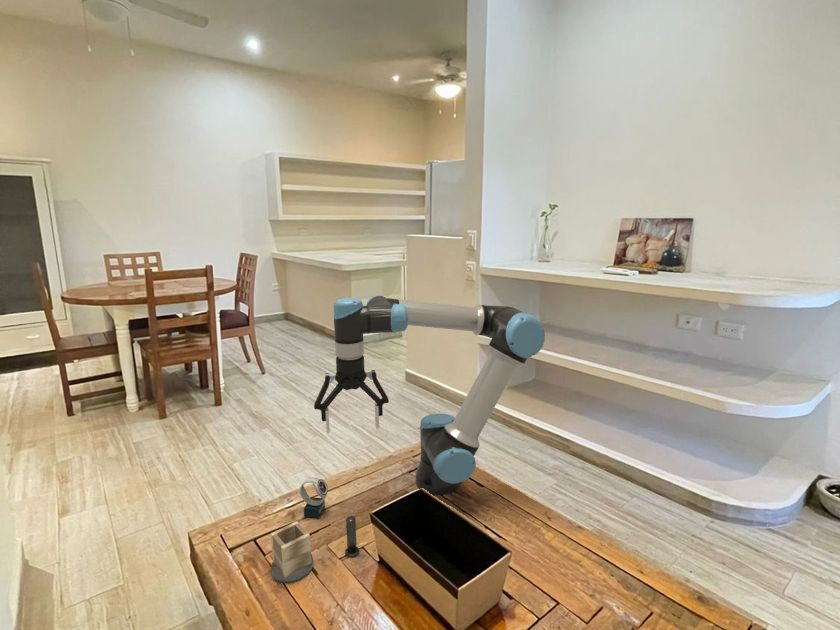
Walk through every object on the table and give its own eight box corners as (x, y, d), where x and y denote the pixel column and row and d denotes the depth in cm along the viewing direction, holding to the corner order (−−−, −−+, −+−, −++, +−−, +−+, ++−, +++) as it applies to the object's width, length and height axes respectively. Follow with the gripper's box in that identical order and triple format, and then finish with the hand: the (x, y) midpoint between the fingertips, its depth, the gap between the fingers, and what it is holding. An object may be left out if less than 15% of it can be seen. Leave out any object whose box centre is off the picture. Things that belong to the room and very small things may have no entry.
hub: (313, 550, 117) (312, 525, 115) (312, 579, 107) (310, 552, 106) (274, 556, 115) (272, 530, 113) (269, 586, 105) (267, 559, 104)
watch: (324, 519, 129) (322, 485, 127) (298, 517, 130) (296, 483, 128) (331, 507, 134) (329, 475, 132) (306, 505, 136) (303, 473, 133)
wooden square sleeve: (298, 548, 116) (296, 521, 114) (311, 562, 111) (309, 535, 109) (273, 561, 111) (270, 533, 110) (285, 577, 106) (282, 548, 104)
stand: (358, 546, 118) (357, 513, 116) (359, 556, 115) (358, 522, 113) (345, 548, 117) (343, 515, 115) (345, 558, 114) (343, 524, 112)
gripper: (393, 349, 125) (395, 418, 129) (302, 355, 120) (307, 427, 124) (397, 356, 117) (399, 430, 122) (301, 363, 113) (306, 439, 117)
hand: (353, 428), depth 123 cm, fingers open, 13 cm apart
